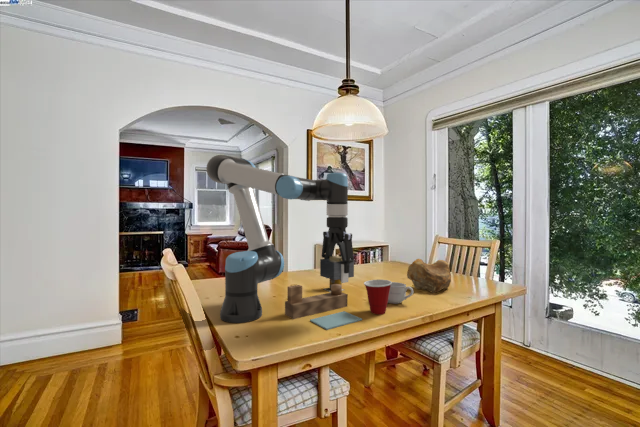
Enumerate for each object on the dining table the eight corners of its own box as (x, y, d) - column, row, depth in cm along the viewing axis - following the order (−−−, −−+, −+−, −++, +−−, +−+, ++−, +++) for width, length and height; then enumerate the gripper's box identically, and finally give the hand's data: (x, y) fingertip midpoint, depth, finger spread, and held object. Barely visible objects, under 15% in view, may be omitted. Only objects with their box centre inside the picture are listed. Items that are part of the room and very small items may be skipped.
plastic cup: (363, 307, 127) (364, 277, 127) (390, 308, 125) (391, 279, 125) (362, 315, 116) (363, 284, 116) (392, 317, 114) (392, 285, 114)
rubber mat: (326, 329, 102) (326, 328, 102) (310, 321, 110) (310, 319, 110) (362, 320, 112) (362, 318, 112) (344, 312, 120) (344, 311, 120)
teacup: (375, 301, 134) (375, 283, 134) (389, 296, 142) (389, 279, 142) (404, 309, 124) (404, 289, 124) (417, 303, 132) (417, 284, 132)
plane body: (293, 319, 112) (293, 289, 112) (284, 314, 117) (285, 285, 117) (347, 306, 127) (347, 279, 127) (338, 302, 132) (338, 277, 132)
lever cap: (334, 280, 105) (334, 259, 105) (320, 275, 111) (320, 256, 111) (353, 276, 110) (353, 257, 110) (339, 273, 117) (339, 254, 117)
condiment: (345, 290, 153) (345, 266, 153) (331, 292, 148) (331, 267, 148) (336, 287, 159) (336, 263, 159) (322, 289, 155) (322, 265, 154)
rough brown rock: (422, 297, 144) (425, 266, 143) (402, 286, 160) (405, 257, 158) (462, 295, 151) (465, 265, 150) (439, 284, 167) (442, 257, 166)
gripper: (365, 217, 104) (364, 284, 105) (327, 215, 121) (327, 273, 121) (348, 217, 100) (348, 287, 100) (311, 216, 117) (311, 276, 117)
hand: (336, 279), depth 111 cm, fingers closed on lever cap, 8 cm apart
